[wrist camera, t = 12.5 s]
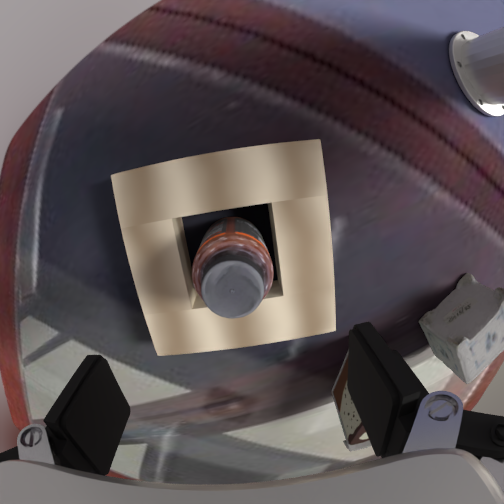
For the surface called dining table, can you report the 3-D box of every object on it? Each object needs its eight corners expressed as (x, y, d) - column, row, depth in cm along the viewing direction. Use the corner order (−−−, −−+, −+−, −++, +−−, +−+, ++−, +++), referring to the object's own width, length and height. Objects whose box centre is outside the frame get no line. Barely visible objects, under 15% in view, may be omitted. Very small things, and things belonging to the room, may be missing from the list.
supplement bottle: (194, 261, 29) (171, 313, 18) (216, 205, 28) (202, 228, 17) (249, 282, 30) (256, 343, 19) (273, 229, 29) (295, 265, 18)
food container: (366, 398, 36) (391, 447, 26) (327, 399, 35) (347, 454, 26) (399, 324, 33) (440, 369, 23) (358, 322, 32) (395, 372, 23)
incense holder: (464, 265, 31) (517, 293, 21) (475, 307, 33) (519, 340, 23) (412, 310, 32) (459, 353, 22) (427, 349, 34) (466, 392, 24)
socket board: (308, 143, 27) (320, 139, 23) (325, 312, 32) (335, 330, 28) (126, 174, 26) (110, 174, 23) (165, 335, 31) (157, 355, 28)
